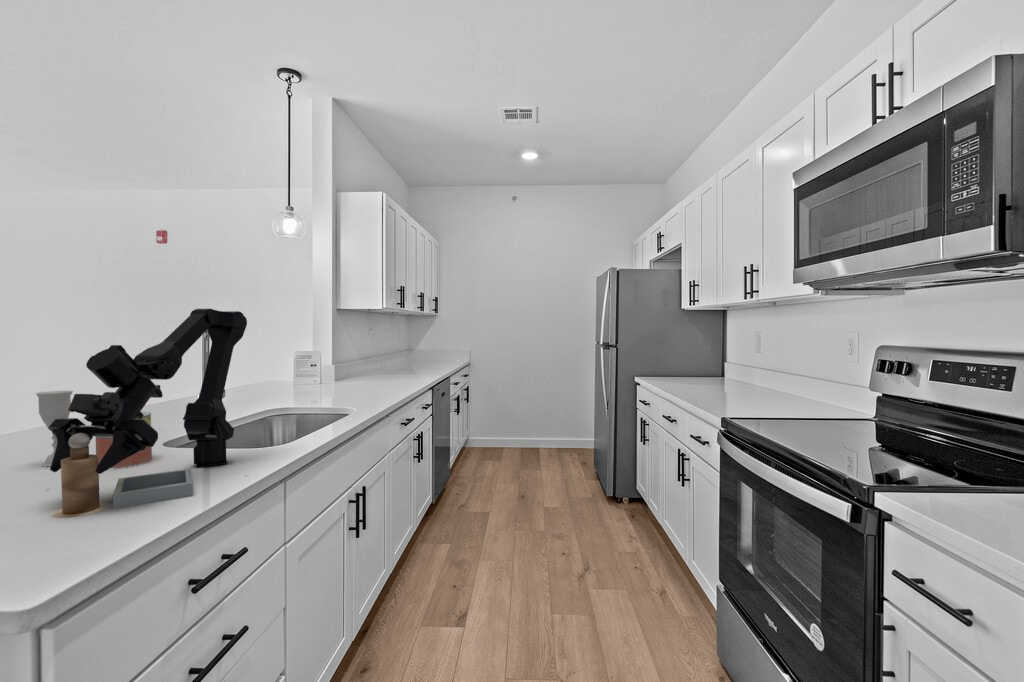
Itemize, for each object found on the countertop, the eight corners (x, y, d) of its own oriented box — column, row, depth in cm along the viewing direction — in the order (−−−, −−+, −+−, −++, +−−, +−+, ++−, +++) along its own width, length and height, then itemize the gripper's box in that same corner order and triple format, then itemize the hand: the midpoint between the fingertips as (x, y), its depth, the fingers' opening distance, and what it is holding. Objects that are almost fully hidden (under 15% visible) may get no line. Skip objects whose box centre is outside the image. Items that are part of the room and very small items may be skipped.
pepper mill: (101, 502, 95) (99, 429, 95) (97, 510, 91) (95, 433, 91) (64, 508, 92) (62, 432, 92) (59, 516, 88) (57, 437, 88)
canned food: (163, 458, 131) (162, 412, 130) (121, 470, 119) (120, 420, 119) (127, 455, 133) (126, 411, 133) (83, 467, 122) (82, 418, 121)
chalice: (81, 461, 127) (79, 391, 126) (49, 469, 120) (47, 394, 120) (63, 459, 129) (61, 390, 129) (30, 466, 123) (28, 393, 122)
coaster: (111, 502, 97) (111, 499, 97) (107, 514, 91) (106, 511, 91) (56, 510, 93) (56, 507, 93) (47, 524, 86) (47, 521, 86)
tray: (190, 482, 109) (190, 468, 109) (192, 498, 99) (192, 483, 99) (119, 493, 102) (118, 478, 102) (113, 511, 92) (112, 494, 92)
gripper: (57, 376, 97) (-7, 446, 86) (144, 377, 94) (90, 449, 84) (96, 410, 105) (42, 478, 94) (178, 412, 102) (132, 481, 92)
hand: (74, 471), depth 91 cm, fingers open, 9 cm apart
